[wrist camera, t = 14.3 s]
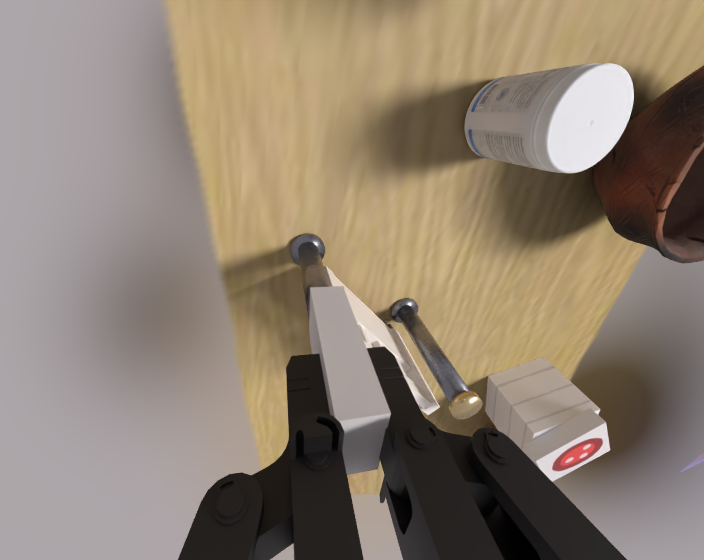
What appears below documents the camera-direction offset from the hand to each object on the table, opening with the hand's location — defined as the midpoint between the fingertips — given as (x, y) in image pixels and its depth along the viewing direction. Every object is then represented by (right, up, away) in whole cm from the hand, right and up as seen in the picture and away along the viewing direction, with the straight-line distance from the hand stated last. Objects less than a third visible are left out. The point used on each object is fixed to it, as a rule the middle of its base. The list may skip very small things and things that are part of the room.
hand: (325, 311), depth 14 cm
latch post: (+11, -4, +40) cm, 42 cm away
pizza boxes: (+44, -30, +64) cm, 83 cm away
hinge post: (-5, +6, +30) cm, 31 cm away
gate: (+2, -2, +36) cm, 36 cm away
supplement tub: (+20, +24, +27) cm, 41 cm away
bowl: (+46, +22, +34) cm, 62 cm away
